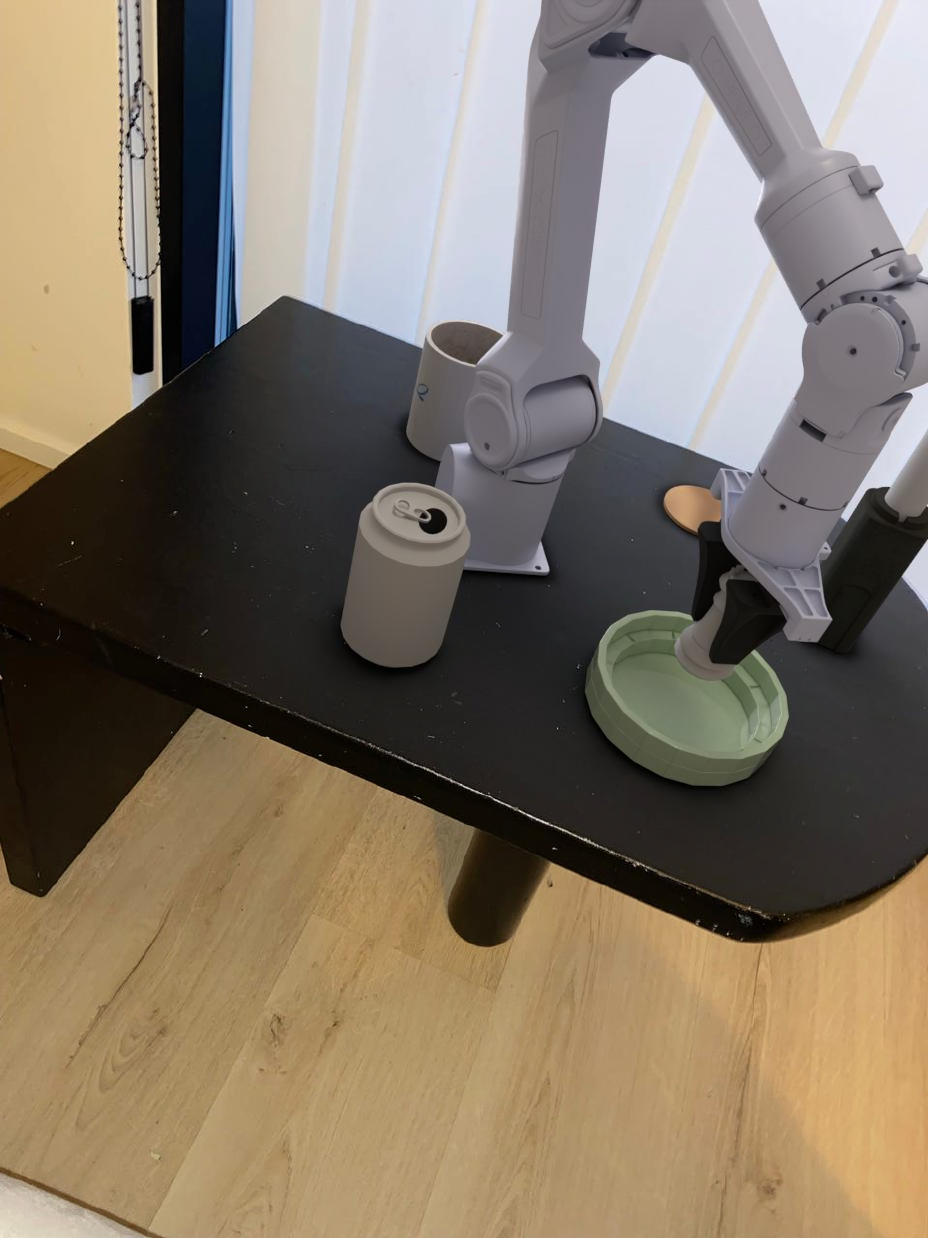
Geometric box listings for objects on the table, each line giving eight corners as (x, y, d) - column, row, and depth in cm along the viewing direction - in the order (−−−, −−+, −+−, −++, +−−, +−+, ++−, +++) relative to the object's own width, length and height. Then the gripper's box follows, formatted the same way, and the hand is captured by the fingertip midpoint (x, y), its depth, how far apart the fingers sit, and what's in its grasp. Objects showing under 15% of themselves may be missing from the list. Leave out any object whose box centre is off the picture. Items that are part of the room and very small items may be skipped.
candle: (850, 621, 83) (1024, 368, 66) (849, 657, 79) (1033, 399, 63) (794, 599, 84) (953, 343, 67) (791, 635, 80) (958, 372, 63)
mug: (479, 475, 87) (505, 379, 80) (392, 443, 88) (412, 345, 81) (514, 416, 96) (541, 325, 89) (436, 387, 97) (456, 295, 90)
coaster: (677, 537, 87) (679, 533, 86) (653, 484, 92) (654, 481, 92) (755, 544, 89) (757, 540, 88) (726, 492, 94) (728, 489, 94)
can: (427, 688, 66) (464, 559, 58) (325, 657, 66) (348, 524, 58) (449, 620, 72) (486, 493, 64) (355, 591, 72) (379, 461, 64)
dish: (610, 788, 64) (627, 756, 61) (565, 637, 73) (578, 604, 71) (796, 791, 67) (819, 760, 65) (729, 646, 77) (747, 615, 75)
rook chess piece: (664, 635, 68) (708, 551, 63) (721, 641, 69) (769, 558, 64) (680, 682, 65) (727, 597, 60) (739, 687, 66) (791, 604, 60)
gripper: (918, 566, 52) (805, 723, 61) (814, 420, 62) (731, 573, 71) (806, 556, 50) (707, 719, 60) (718, 408, 61) (645, 566, 70)
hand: (714, 639), depth 65 cm, fingers closed on rook chess piece, 3 cm apart
